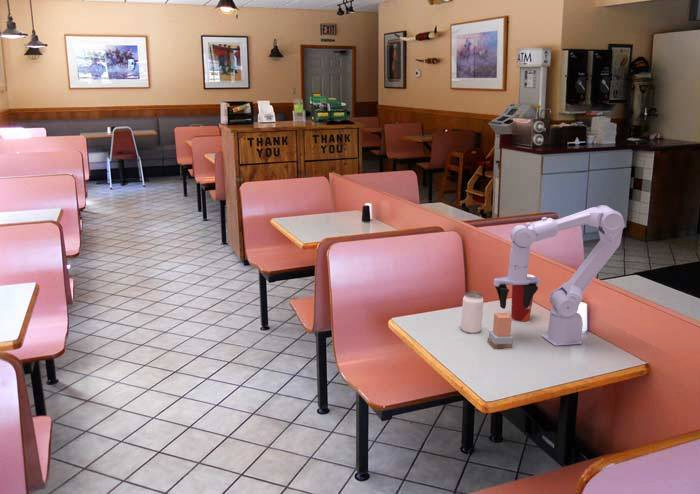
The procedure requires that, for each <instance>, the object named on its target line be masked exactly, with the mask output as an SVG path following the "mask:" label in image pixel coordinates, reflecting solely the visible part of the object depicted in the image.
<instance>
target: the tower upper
mask: <svg viewBox="0 0 700 494" xmlns="http://www.w3.org/2000/svg"><path fill="white" fill-rule="evenodd" d="M488 338H490V339H491V340H492V342H493V343H494V344H512V345H513V344H514V343H513V341H514V340H513V339H514V337H513V336H512V335H511V334H510V336H504V337H497V336H496V335H495V334H494V332H493V330H489V331H488Z"/></svg>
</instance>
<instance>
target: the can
mask: <svg viewBox="0 0 700 494" xmlns="http://www.w3.org/2000/svg"><path fill="white" fill-rule="evenodd" d="M461 309H462V310H461V319H460V320H461V323H460V329H461V330H462V331H463V332H464V333H467V334H478V333H480V332H482V326H483V324H482V323H483V315H484V313H483V312H484V298H483V293H480V292H477V291H468V292H465V293H464V296H463V298H462V307H461Z"/></svg>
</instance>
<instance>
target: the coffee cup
mask: <svg viewBox="0 0 700 494" xmlns="http://www.w3.org/2000/svg"><path fill="white" fill-rule="evenodd" d="M527 277H536V276H535V275H533V274H529V273H528V274H527ZM523 296H524V288H523V285H511V310H510V311H511V315H510V316H511V317H512V320H513V321H516V322H521V323H522V322H524V323H525V322H529V321H530V317H531V312H532V306H533V300H534V296H533V297H532V299H531V301H530V303H529V306H528V308H526V307H524V306H523Z"/></svg>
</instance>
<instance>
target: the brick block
mask: <svg viewBox="0 0 700 494" xmlns="http://www.w3.org/2000/svg"><path fill="white" fill-rule="evenodd" d="M512 320H513V319H512V317H511V315H510V314H509V313H508V312H494V315H493V326H492V331H493V332H494V334H495V335H496V336H497V337H504V336H510V335H511V333H512V332H511V331H512V330H511V329H512Z"/></svg>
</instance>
